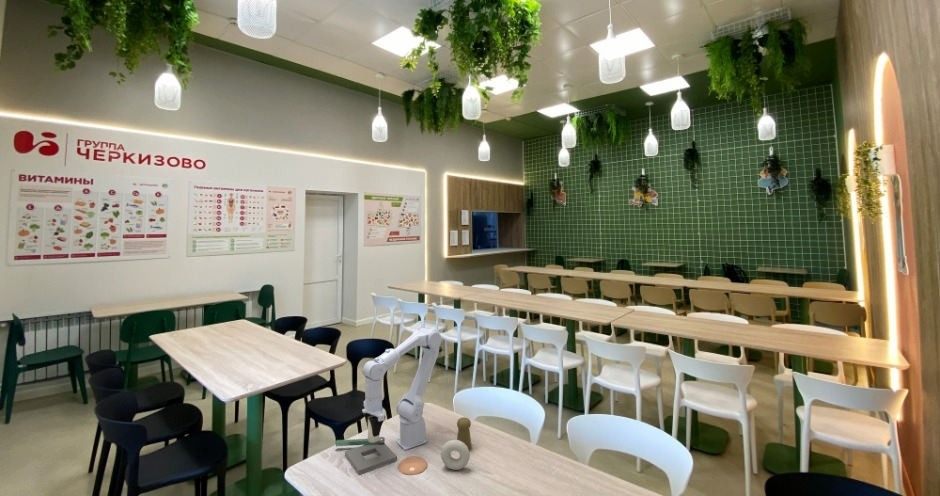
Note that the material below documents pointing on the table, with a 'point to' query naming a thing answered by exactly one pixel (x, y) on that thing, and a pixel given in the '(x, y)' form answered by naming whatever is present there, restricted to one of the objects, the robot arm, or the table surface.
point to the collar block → (365, 465)
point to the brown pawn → (464, 431)
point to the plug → (370, 435)
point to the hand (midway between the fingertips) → (373, 432)
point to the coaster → (412, 465)
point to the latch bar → (359, 442)
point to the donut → (451, 462)
